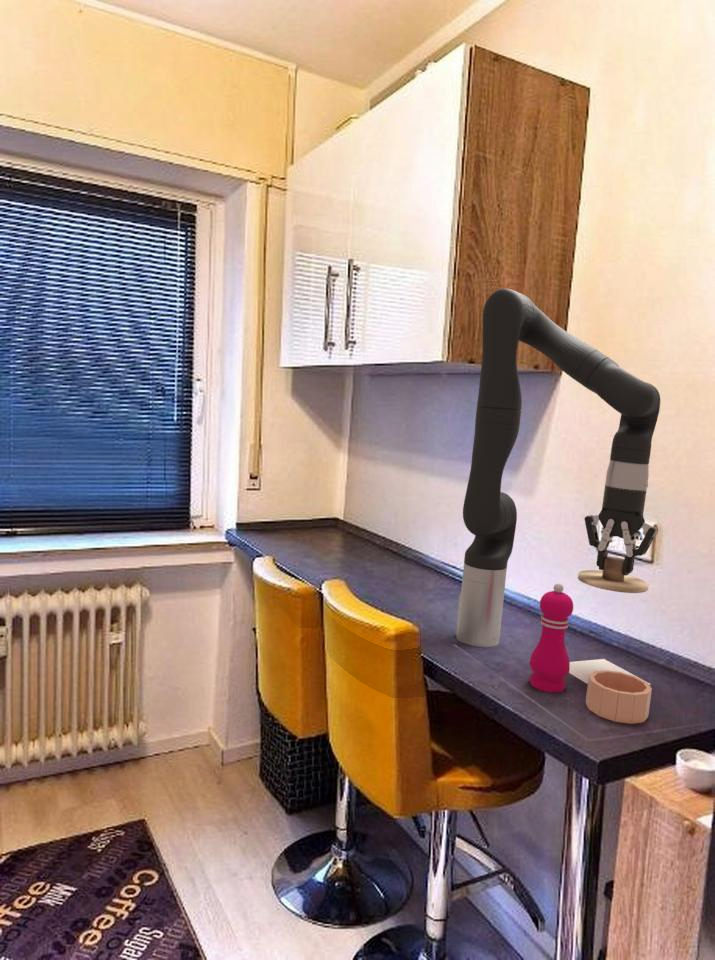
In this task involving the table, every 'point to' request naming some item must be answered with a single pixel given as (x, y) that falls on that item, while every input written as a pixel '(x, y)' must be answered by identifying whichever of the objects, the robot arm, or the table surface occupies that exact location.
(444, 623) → the table surface
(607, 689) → the bowl
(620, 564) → the lid
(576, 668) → the mat
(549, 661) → the pepper mill
